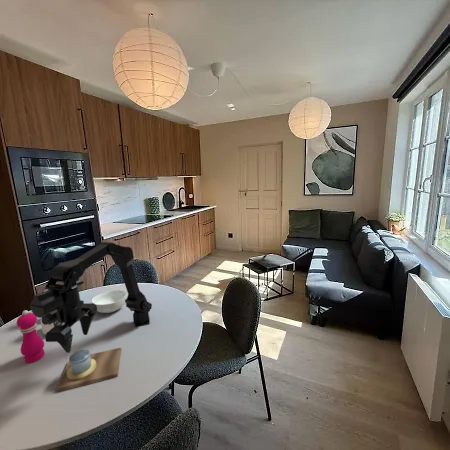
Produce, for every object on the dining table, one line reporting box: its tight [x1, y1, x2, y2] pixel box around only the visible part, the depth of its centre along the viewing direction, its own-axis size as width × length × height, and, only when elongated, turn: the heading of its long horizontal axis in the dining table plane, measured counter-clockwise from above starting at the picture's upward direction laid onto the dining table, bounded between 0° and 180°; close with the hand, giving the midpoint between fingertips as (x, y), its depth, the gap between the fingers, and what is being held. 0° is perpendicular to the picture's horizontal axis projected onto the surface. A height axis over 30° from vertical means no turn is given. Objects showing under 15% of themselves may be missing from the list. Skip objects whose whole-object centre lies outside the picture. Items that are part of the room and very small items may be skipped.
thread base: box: [56, 347, 122, 392], centre depth 89 cm, size 18×14×2 cm
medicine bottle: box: [40, 318, 65, 335], centre depth 113 cm, size 7×7×12 cm
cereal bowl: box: [91, 289, 128, 314], centre depth 130 cm, size 17×17×7 cm
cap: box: [68, 348, 91, 374], centre depth 86 cm, size 6×6×5 cm
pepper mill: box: [16, 310, 46, 364], centre depth 94 cm, size 7×7×20 cm
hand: (77, 343), depth 85 cm, fingers open, 9 cm apart
